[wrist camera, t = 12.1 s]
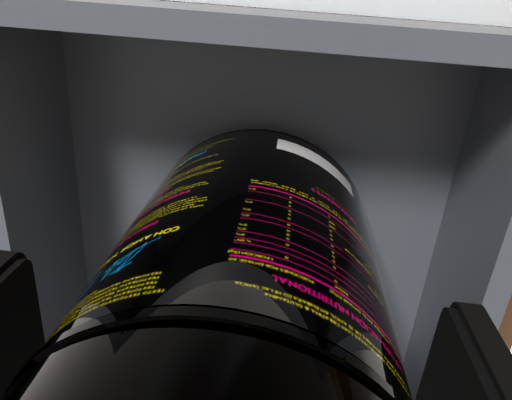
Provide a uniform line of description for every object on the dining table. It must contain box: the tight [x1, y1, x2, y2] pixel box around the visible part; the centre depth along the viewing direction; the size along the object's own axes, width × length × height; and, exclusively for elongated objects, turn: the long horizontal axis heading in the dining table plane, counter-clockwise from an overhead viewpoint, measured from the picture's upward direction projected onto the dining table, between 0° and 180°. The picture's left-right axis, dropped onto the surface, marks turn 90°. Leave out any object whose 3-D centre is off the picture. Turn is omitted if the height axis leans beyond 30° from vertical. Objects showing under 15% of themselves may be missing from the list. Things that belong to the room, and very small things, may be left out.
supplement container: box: [1, 129, 413, 400], centre depth 10 cm, size 7×7×10 cm
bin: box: [0, 0, 512, 400], centre depth 14 cm, size 13×13×4 cm
